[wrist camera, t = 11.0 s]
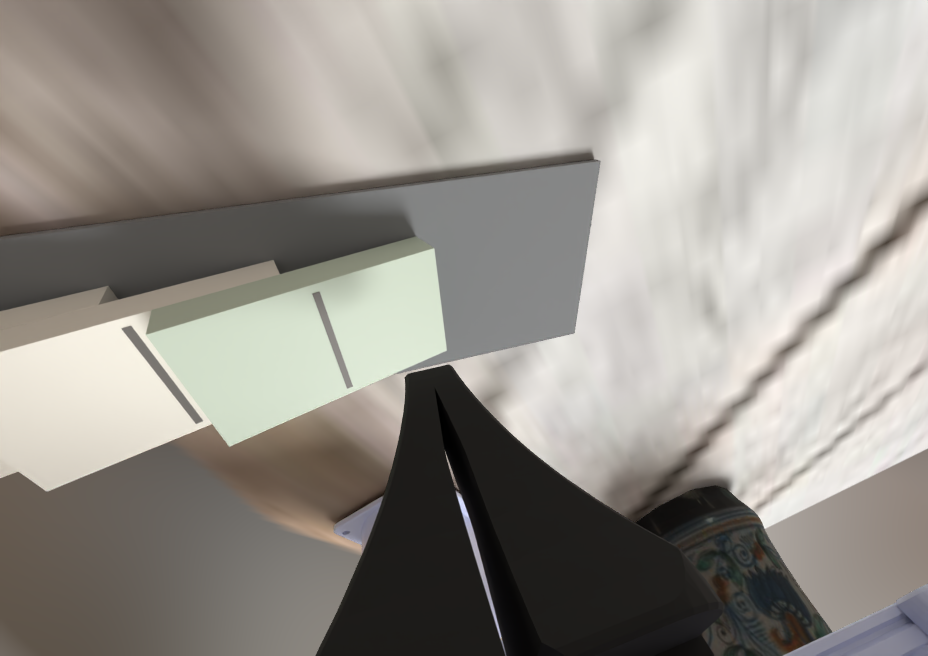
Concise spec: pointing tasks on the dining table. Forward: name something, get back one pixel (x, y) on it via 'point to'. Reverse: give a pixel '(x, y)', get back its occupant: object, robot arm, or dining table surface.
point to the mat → (354, 249)
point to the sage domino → (303, 336)
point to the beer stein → (739, 574)
